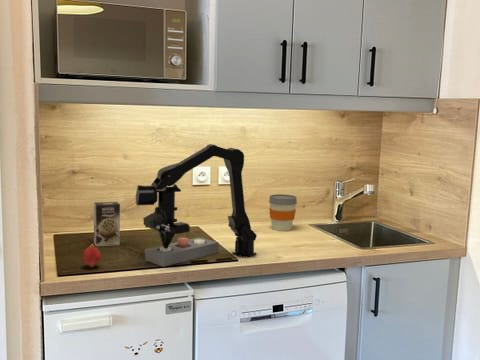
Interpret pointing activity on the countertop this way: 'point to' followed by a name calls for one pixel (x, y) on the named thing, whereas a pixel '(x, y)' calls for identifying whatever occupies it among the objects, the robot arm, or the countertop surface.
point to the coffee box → (106, 223)
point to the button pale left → (165, 249)
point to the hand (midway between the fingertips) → (165, 248)
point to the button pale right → (199, 241)
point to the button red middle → (182, 242)
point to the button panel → (180, 252)
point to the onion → (91, 256)
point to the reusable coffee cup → (282, 211)
